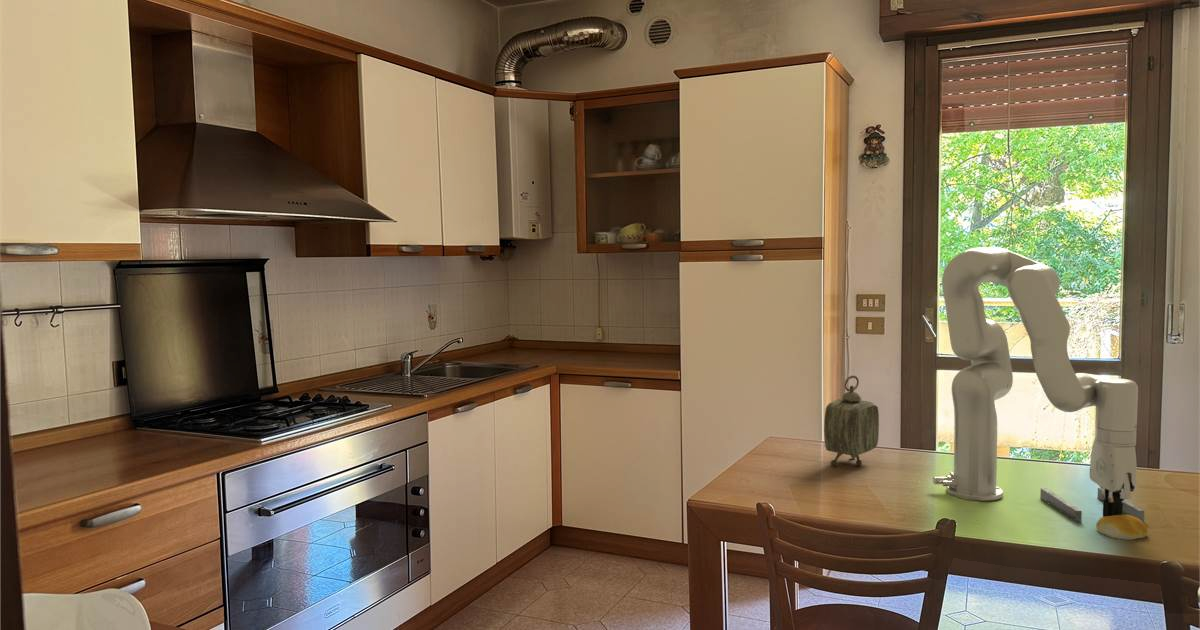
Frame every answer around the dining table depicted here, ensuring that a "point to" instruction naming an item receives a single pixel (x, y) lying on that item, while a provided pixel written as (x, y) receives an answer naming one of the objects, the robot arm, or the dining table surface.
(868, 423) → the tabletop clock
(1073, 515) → the chute
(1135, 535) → the bread roll
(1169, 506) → the dining table surface
